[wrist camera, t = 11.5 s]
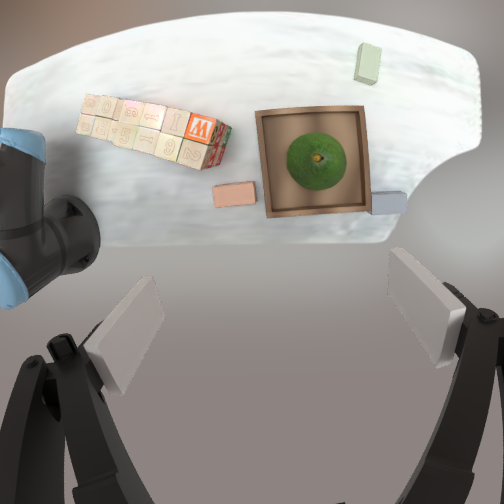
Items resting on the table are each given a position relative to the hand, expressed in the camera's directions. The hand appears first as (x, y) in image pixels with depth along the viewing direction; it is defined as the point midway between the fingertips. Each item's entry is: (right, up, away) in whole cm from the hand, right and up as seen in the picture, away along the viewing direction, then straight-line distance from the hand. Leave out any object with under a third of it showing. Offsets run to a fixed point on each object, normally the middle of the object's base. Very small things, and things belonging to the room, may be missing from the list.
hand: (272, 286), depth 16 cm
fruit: (+8, +15, +26) cm, 32 cm away
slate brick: (+20, +10, +28) cm, 36 cm away
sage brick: (+16, +31, +21) cm, 41 cm away
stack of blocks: (-15, +21, +27) cm, 38 cm away
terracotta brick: (-3, +11, +30) cm, 32 cm away
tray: (+8, +16, +27) cm, 32 cm away
